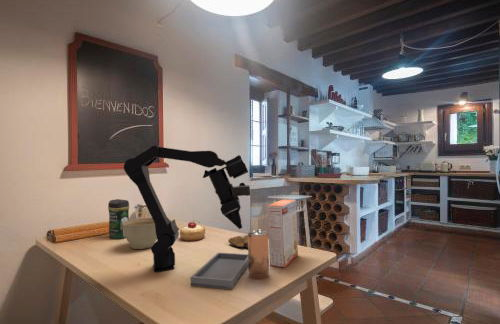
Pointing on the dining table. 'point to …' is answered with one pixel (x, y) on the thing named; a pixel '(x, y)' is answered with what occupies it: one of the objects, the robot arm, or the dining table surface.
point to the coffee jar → (117, 217)
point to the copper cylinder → (258, 254)
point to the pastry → (192, 232)
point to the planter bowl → (140, 232)
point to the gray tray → (221, 271)
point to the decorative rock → (239, 241)
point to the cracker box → (282, 232)
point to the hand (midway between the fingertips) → (240, 225)
